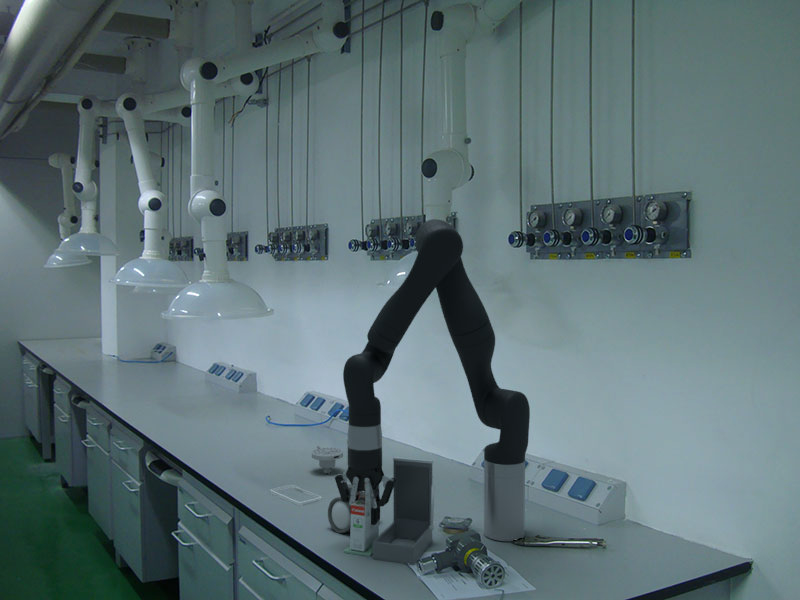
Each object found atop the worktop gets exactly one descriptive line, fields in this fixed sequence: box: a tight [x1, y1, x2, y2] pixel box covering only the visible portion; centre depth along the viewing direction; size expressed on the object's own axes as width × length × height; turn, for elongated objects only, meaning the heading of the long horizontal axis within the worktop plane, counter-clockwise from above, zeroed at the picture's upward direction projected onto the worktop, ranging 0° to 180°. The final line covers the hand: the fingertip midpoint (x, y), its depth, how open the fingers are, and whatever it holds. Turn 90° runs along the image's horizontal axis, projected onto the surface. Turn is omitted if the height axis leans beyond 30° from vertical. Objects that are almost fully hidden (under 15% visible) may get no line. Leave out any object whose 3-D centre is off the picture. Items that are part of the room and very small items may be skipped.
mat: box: [343, 544, 373, 557], centre depth 148 cm, size 9×6×1 cm, turn 161°
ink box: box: [349, 482, 380, 552], centre depth 148 cm, size 4×8×15 cm, turn 159°
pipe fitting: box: [327, 483, 365, 534], centre depth 161 cm, size 12×8×10 cm, turn 137°
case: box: [372, 456, 436, 565], centre depth 146 cm, size 14×10×18 cm
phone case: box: [269, 484, 323, 507], centre depth 183 cm, size 7×1×15 cm
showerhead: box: [311, 445, 344, 474], centre depth 206 cm, size 9×7×10 cm
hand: (365, 522), depth 148 cm, fingers open, 3 cm apart
